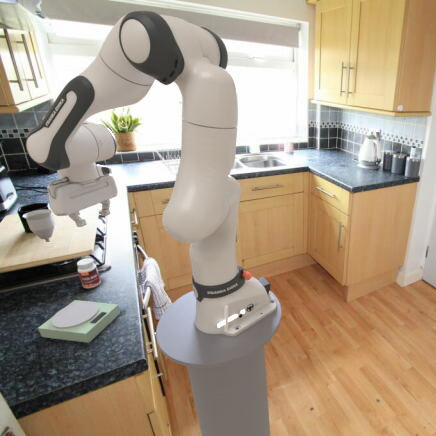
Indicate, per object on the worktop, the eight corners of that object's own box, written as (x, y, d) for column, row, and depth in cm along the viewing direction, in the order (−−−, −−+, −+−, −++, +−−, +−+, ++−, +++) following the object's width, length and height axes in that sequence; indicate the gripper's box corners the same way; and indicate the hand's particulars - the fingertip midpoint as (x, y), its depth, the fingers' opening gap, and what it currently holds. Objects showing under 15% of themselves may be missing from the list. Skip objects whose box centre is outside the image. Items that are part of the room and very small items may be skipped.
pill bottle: (84, 290, 97) (76, 267, 94) (81, 283, 100) (74, 261, 97) (102, 284, 100) (95, 262, 97) (99, 278, 103) (92, 255, 100)
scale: (77, 308, 90) (74, 298, 88) (120, 313, 89) (117, 302, 87) (41, 337, 80) (36, 326, 78) (89, 342, 79) (85, 331, 77)
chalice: (41, 267, 107) (22, 219, 100) (41, 259, 112) (22, 212, 105) (68, 261, 112) (52, 214, 104) (67, 253, 116) (51, 207, 109)
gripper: (57, 181, 78) (76, 233, 83) (114, 166, 97) (127, 209, 102) (33, 183, 79) (53, 234, 83) (95, 167, 98) (108, 210, 103)
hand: (94, 220), depth 93 cm, fingers open, 8 cm apart
